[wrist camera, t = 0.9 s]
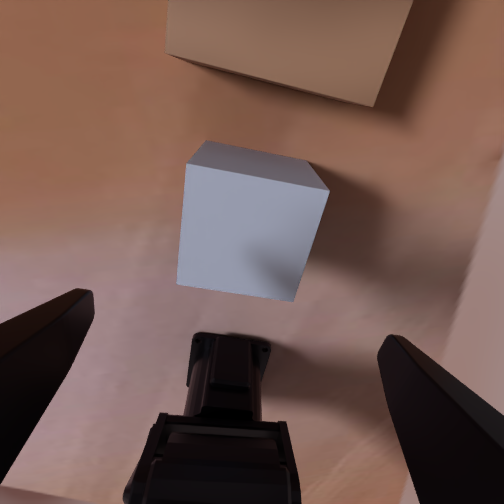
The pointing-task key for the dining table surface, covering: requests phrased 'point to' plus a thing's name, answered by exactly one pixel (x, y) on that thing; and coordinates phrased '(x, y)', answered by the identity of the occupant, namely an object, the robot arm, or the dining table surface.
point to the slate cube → (248, 221)
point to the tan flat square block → (292, 41)
